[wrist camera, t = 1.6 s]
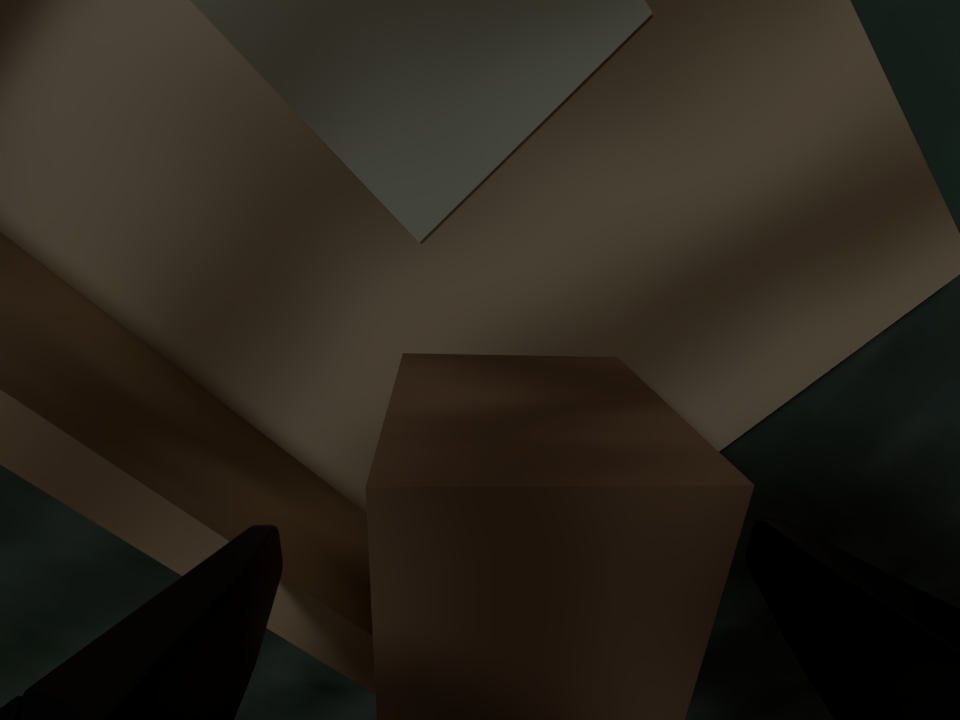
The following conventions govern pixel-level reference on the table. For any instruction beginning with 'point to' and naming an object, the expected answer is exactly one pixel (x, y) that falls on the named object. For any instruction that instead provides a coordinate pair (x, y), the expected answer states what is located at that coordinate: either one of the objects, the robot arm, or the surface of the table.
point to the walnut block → (542, 542)
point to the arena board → (418, 239)
